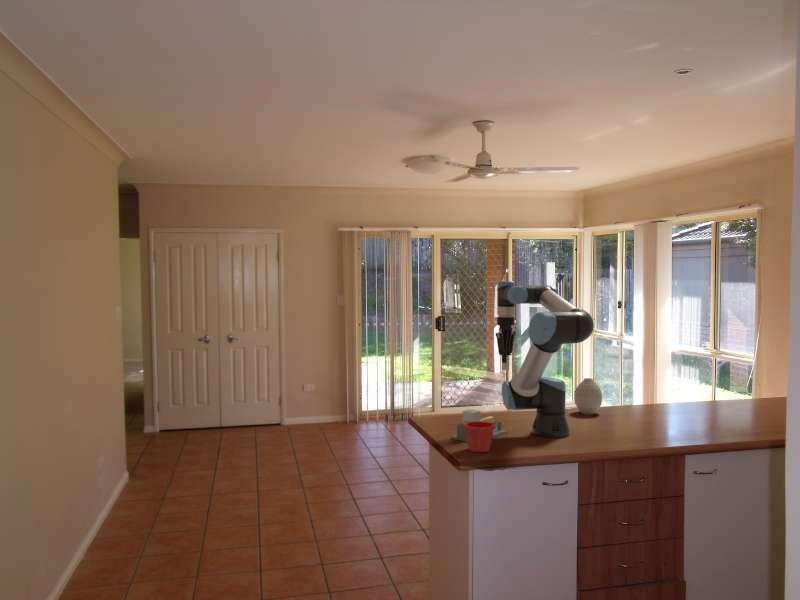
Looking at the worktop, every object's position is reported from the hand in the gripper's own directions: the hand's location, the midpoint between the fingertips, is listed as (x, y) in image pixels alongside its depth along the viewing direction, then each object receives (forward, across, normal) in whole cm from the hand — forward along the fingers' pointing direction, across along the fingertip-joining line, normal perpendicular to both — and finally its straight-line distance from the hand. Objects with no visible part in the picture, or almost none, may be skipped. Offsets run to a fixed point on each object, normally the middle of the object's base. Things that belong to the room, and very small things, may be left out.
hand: (505, 370), depth 278 cm
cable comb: (+24, +23, +2) cm, 34 cm away
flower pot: (+25, +41, +14) cm, 50 cm away
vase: (+25, -49, +16) cm, 57 cm away
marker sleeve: (+22, +27, +1) cm, 35 cm away
